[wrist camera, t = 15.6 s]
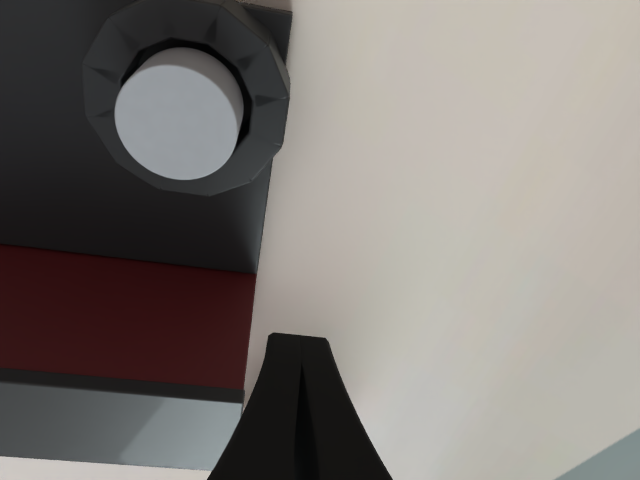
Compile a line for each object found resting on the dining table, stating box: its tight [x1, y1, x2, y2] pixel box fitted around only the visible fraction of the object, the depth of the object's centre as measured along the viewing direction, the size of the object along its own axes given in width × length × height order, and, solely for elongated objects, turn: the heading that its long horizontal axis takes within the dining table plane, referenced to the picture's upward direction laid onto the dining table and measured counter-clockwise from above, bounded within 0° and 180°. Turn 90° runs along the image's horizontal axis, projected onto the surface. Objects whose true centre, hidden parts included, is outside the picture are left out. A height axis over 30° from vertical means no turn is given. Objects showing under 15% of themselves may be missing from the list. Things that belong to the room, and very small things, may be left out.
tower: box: [0, 244, 257, 471], centre depth 20 cm, size 5×14×8 cm, turn 80°
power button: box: [114, 47, 244, 180], centre depth 16 cm, size 4×4×2 cm
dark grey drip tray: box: [0, 0, 292, 274], centre depth 18 cm, size 11×14×3 cm
